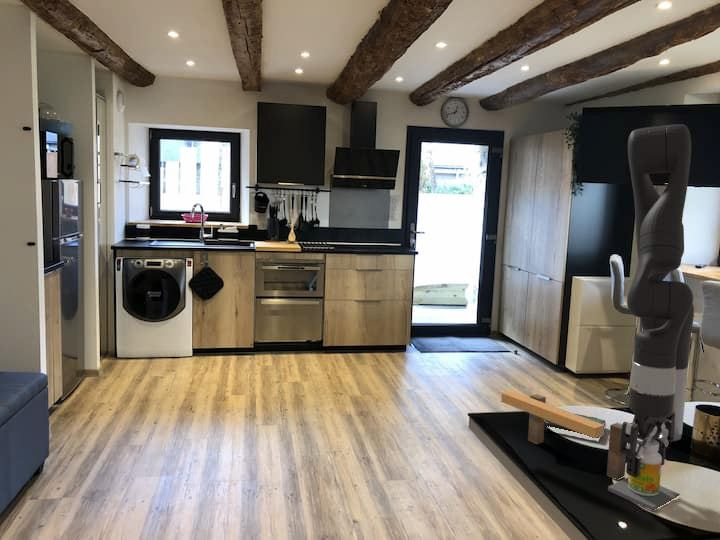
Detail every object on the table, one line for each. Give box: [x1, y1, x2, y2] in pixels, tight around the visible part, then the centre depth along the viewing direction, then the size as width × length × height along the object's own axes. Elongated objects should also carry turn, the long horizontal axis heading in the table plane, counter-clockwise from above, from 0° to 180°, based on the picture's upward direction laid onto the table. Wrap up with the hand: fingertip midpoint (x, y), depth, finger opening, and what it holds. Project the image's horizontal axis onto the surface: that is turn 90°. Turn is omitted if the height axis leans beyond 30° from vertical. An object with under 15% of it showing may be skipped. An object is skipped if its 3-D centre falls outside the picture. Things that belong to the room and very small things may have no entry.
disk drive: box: [544, 412, 607, 438], centre depth 141 cm, size 10×3×15 cm
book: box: [607, 477, 681, 512], centre depth 110 cm, size 9×9×1 cm
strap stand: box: [527, 393, 628, 479], centre depth 125 cm, size 2×22×11 cm, turn 34°
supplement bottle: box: [627, 438, 662, 496], centre depth 110 cm, size 5×5×10 cm
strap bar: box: [500, 390, 606, 438], centre depth 119 cm, size 3×23×2 cm, turn 34°
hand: (645, 469), depth 110 cm, fingers open, 8 cm apart
